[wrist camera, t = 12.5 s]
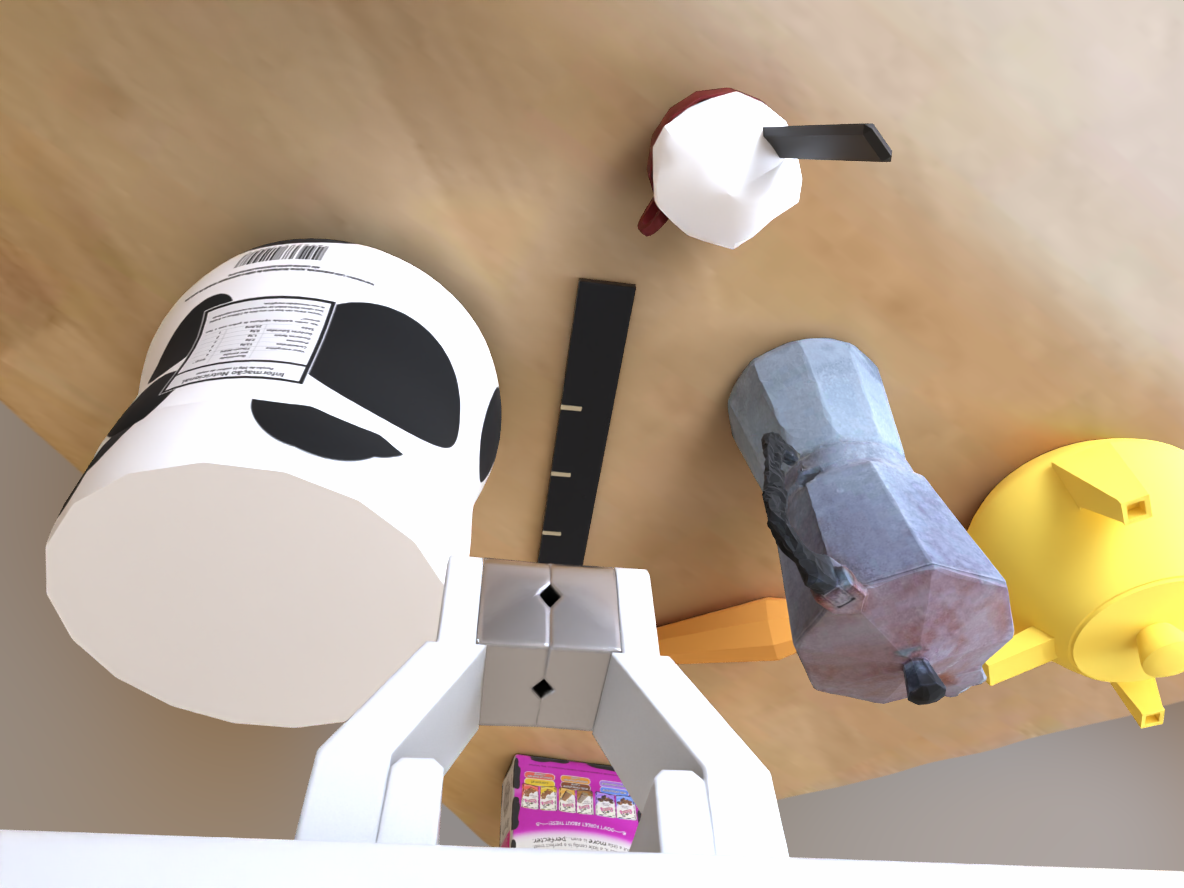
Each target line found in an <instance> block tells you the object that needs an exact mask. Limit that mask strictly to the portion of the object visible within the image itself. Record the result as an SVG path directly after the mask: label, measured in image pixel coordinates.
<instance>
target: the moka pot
mask: <svg viewBox="0 0 1184 888" xmlns="http://www.w3.org/2000/svg"><path fill="white" fill-rule="evenodd" d="M728 413H729V420H730V425H731V430H732V436H733V438H734V440H735V442H736V444H737V446H738V448H739V450H740V451H741V453H742V455H743V457H744V458H745V460H746V462H747V464H748V466H749V468H750V470H751V472H752V474H753V475H754V477H755V479H756V481H757V482H758V484H759V486H760V487H761V490H762V492H763V494H762V496H763V500H764V505H765V509H766V513H767V517H768V522H767V525H768V527H769V528H770V529H771V532H772V535H773V537H774V538H775V540H776V544H777V546H778V553H779V558H780V564H781V570H782V577H783V583H784V589H785V596H786V602H787V608H788V615H789V622H790V628H791V634H792V640H793V645H794V647H795V649H796V651H797V654H798V656H799V658H800V660H801V662H802V664H803V666H804V668H805V670H806V673H807V675H808V677H809V680H810V682H811V683H812V685H813V687H814V688H815V689H816V690H818V691H822V692H827V693H831V694H837V695H843V696H848V697H852V698H857V699H861V700H866V701H870V702H874V703H882V704H885V703H888V702H892V701H896V700H900V699H904V698H908V701H911V702H913V703H915V704H917V705H923V704H930V703H933V702H937V701H938V700H940V699H941V698H942V697H944V696H947V697H955V696H958V694H959V693H962V692H964V691H966V690H967V689H968V688H969V687H971V686H974V685H979V684H982V682H984V681H986V679H987V676H986V674H985V673H984V671H983V668H982V665H983V664H984V663H985V662H986V661H987V660H988V659H989V658H991V657H992V656H993V655H994V654H995V653H996V652H997V651H999V650H1000V649H1001V648H1002V647H1003V646H1004V645H1005V644H1007V643H1008V642H1009V641H1010V640H1011V639H1012V638H1013V634H1014V626H1013V619H1012V613H1011V606H1010V599H1009V592H1008V588H1007V584H1006V580H1005V579H1004V578H1003V577H1002V575H1001V574H1000V573H999V572H998V570H997V569H996V568H995V567H994V565H993V564H992V563H991V562H990V560H989V559H988V558H987V556H986V555H985V554H984V553H983V551H982V550H981V549H980V548H979V546H978V545H977V544H976V543H975V541H974V540H973V539H972V538H971V536H970V535H969V534H968V533H967V531H966V530H965V529H964V527H963V526H962V525H961V524H960V522H959V521H958V520H957V518H956V517H955V516H954V514H953V513H952V512H951V511H950V509H949V508H948V507H947V506H946V504H945V503H944V502H943V500H942V499H941V498H940V497H939V495H938V494H937V493H936V492H935V490H934V489H933V488H932V486H931V485H930V484H929V482H928V481H927V480H926V478H925V477H924V476H922V475H920V474H917V473H914V472H913V470H912V468H911V466H910V465H909V463H908V462H907V461H906V459H905V455H904V451H903V448H902V444H901V441H900V437H899V434H898V431H897V428H896V425H895V422H894V419H893V415H892V412H891V409H890V406H889V402H888V399H887V395H886V392H885V389H884V386H883V382H882V379H881V377H880V374H879V371H878V368H877V367H876V365H875V364H874V363H873V362H872V361H871V360H870V359H869V358H868V357H867V356H866V355H865V354H863V353H862V352H861V351H860V350H859V349H858V348H857V347H856V346H854V345H852V344H850V343H847V342H843V341H839V340H835V339H830V338H811V339H802V340H799V341H792V342H789V343H786V344H783V345H781V346H780V347H777V348H775V349H773V350H770V351H768V352H766V353H765V354H763V355H761V356H759V357H757V358H754V359H753V360H752V361H751V362H750V363H749V365H748V366H747V367H746V368H745V369H744V371H743V372H742V374H741V376H740V377H739V378H738V380H737V382H736V383H735V385H734V387H733V389H732V392H731V394H730V397H729V399H728Z"/></svg>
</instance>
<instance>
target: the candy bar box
mask: <svg viewBox="0 0 1184 888" xmlns="http://www.w3.org/2000/svg"><path fill="white" fill-rule="evenodd" d="M640 818H641V812H640V811H639V809H638V808H637V806H636V804H635V803H634V801H633V799H632V798H631V796H630V795H629V793H628V791H627V790H626V788H625V786H624V785H623V783H622V782H621V780H620V778H619V777H618V775H617V773H616V772H615V770H614V768H613V767H612V766H606V765H598V764H591V763H583V762H575V761H567V760H560V759H551V758H544V757H535V756H527V755H520V754H516V755H515V756H514V758H513V761H512V763H511V766H510V768H509V770H508V772H507V774H506V775H505V778H504V781H503V784H502V799H501V825H500V847H505V848H534V849H562V850H590V851H619V852H629V850H630V847H631V844H632V841H633V839H634V836H635V833H636V830H637V827H638V824H639V821H640Z"/></svg>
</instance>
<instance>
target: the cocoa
mask: <svg viewBox="0 0 1184 888" xmlns="http://www.w3.org/2000/svg"><path fill="white" fill-rule="evenodd" d="M891 157H892V150H891V149H890V147H889V146H888V144H887V143H886V142H885V140H884V139H883V137H882V136H881V134H880V133H879V131H878V130H877V129H876V127H875V126H874V124H837V125H807V126H788V125H787V123H786V121H785V120H783V119H782V118H781V117H780V116H779V115H777V114H776V113H775V112H774V111H772V110H771V109H770V108H769V107H767V105H766V104H765V103H764V102H762V101H761V100H759V99H757V98H755V97H752V96H750V95H747V94H745V93H742V92H740V91H737V90H734V89H732V88H720V89H712V90H704V91H696V92H694V93H693V94H691V95H690V96H688V97H687V98H685V99H684V100H682V101H680V102H679V103H677V104H676V105H674V106H673V107H671V108H670V109H669V110H668V112H667V114H666V115H665V117H664V118H663V120H662V121H661V123H660V124H659V126H658V127H657V129H656V130H655V132H654V133H653V136H652V140H651V146H650V152H649V159H648V165H647V172H648V176H649V180H650V183H651V186H652V190H653V193H654V197H653V198H652V200H651V201H650V203H649V205H648V206H647V208H646V209H645V211H644V213H643V215H642V216H641V218H640V221H639V223H638V229H639V230H640V232H641V233H642V234H644V235H645V236H646V237H647V236H651V235H652V234H654V233H655V232H657V231H658V230H659V229H660V228H661V227H662V226H663V225H664V224H665V223H666V222H667V220H668V219H670V220H671V221H672V222H673V223H674V224H675V225H676V226H677V227H679V228H680V229H681V230H682V231H683V232H684V233H685V234H687V235H688V236H691V237H694V238H696V239H699V240H702V241H705V242H708V243H712V244H715V245H719V246H722V247H726V248H730V249H735V248H736V247H738V246H739V245H741V244H742V243H744V242H745V241H747V240H748V239H750V238H752V237H753V236H755V235H756V234H757V233H758V232H759V231H760V230H761V229H762V228H763V227H765V226H766V225H767V224H768V223H769V222H770V221H771V220H772V219H774V218H775V217H777V216H778V215H780V214H781V213H783V212H784V211H786V210H787V209H789V208H790V207H792V206H793V205H795V204H796V203H798V202H799V195H800V189H801V183H802V176H801V171H800V166H799V161H798V159H815V160H844V161H873V162H891ZM656 213H657V214H656Z"/></svg>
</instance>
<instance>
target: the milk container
mask: <svg viewBox="0 0 1184 888" xmlns="http://www.w3.org/2000/svg"><path fill="white" fill-rule="evenodd" d="M500 431H501V399H500V390H499V384H498V380H497V375H496V371H495V367H494V363H493V360H492V357H491V354H490V351H489V348H488V346H487V344H486V341H485V339H484V337H483V335H482V334H481V332H480V330H479V328H478V326H477V325H476V323H475V322H474V320H473V319H472V317H471V316H470V315H469V313H468V312H467V311H466V310H465V308H464V307H463V306H462V305H461V304H460V303H459V302H458V301H457V300H456V299H455V297H454V296H453V295H452V294H451V293H449V292H448V291H447V290H446V289H445V288H444V287H443V286H442V285H440V284H439V283H438V282H437V281H435V280H434V279H433V278H431V277H430V276H429V275H427V274H426V273H424V272H423V271H421V270H419V269H418V268H416V267H414V266H412V265H410V264H409V263H407V262H405V261H403V260H401V259H399V258H397V257H394V256H392V255H390V254H388V253H385V252H383V251H380V250H378V249H375V248H372V247H368V246H364V245H360V244H355V243H350V242H345V241H338V240H330V239H293V240H285V241H279V242H274V243H270V244H266V245H262V246H259V247H256V248H253V249H251V250H248V251H246V252H243V253H241V254H239V255H237V256H235V257H234V258H232V259H230V260H228V261H226V262H225V263H223V264H221V265H220V266H218V267H217V268H215V269H214V270H212V271H211V272H209V273H208V274H206V275H205V276H204V277H202V278H201V279H200V280H199V281H198V282H196V283H195V284H194V285H193V286H192V287H191V288H190V289H189V290H187V291H186V292H185V293H184V294H183V296H182V297H181V298H180V299H179V300H178V301H177V302H176V303H175V305H174V306H173V307H172V308H171V310H170V311H169V312H168V314H167V315H166V317H165V318H164V319H163V321H162V323H161V325H160V326H159V328H158V330H157V332H156V334H155V336H154V338H153V340H152V342H151V344H150V347H149V350H148V352H147V356H146V359H145V363H144V367H143V371H142V375H141V381H140V387H139V392H138V396H137V397H136V399H135V400H134V401H133V403H132V404H131V405H130V406H129V408H128V409H127V410H126V411H125V413H124V414H123V415H122V416H121V418H120V419H119V420H118V421H117V423H116V424H115V425H114V427H113V428H112V429H111V431H110V432H109V433H108V435H107V436H106V438H105V439H104V440H103V442H102V443H101V445H100V446H99V448H98V450H97V452H96V454H95V456H94V459H93V460H92V462H91V463H90V465H89V466H88V468H87V469H86V471H85V473H84V474H83V476H82V477H81V479H80V480H79V482H78V483H77V485H76V487H75V488H74V490H73V491H72V493H71V494H70V496H69V498H68V499H67V501H66V502H65V504H64V506H63V508H62V510H61V512H60V514H59V516H58V518H57V520H56V522H55V524H54V526H53V528H52V530H51V532H50V535H49V538H48V541H47V544H46V589H47V590H46V593H47V596H48V597H49V599H50V601H51V603H52V604H53V606H54V608H55V610H56V611H57V613H58V615H59V617H60V619H61V620H62V622H63V624H64V626H65V627H66V629H67V631H68V633H69V634H70V636H71V638H72V640H74V641H75V642H76V643H77V644H78V645H79V646H80V647H82V648H83V649H84V650H85V651H86V652H87V653H89V654H90V655H91V656H92V657H94V659H95V660H97V661H98V662H99V663H100V664H101V665H102V666H103V667H105V668H106V669H107V670H108V671H109V672H110V673H111V674H113V675H114V676H115V677H116V678H118V679H120V680H122V681H124V682H126V683H128V684H130V685H132V686H134V687H136V688H138V689H140V690H141V691H143V692H145V693H147V694H149V695H151V696H153V697H155V698H157V699H159V700H161V701H163V702H165V703H167V704H169V705H171V706H174V707H178V708H181V709H185V710H188V711H192V712H195V713H199V714H203V715H206V716H210V717H214V718H217V719H221V720H225V721H228V722H232V723H240V724H253V725H266V726H278V727H291V728H298V727H306V726H313V725H322V724H330V723H338V722H346V721H347V720H348V719H349V718H350V717H351V716H352V715H353V714H354V713H355V712H356V711H357V710H358V709H359V708H360V707H361V706H362V705H363V704H364V703H365V702H366V701H367V700H368V699H369V698H370V697H371V696H372V695H373V694H374V693H375V692H376V691H377V690H378V689H379V688H380V687H381V686H382V685H383V684H384V683H385V682H386V681H387V680H388V679H389V678H390V677H391V676H392V675H393V674H394V673H395V672H396V671H397V670H398V669H399V668H400V667H401V666H402V665H403V664H404V663H405V662H406V661H407V660H408V659H409V658H410V657H411V656H412V655H413V654H414V653H415V652H416V651H417V650H418V649H419V648H420V647H421V646H422V645H423V644H424V643H425V642H426V641H433V642H436V638H437V631H438V624H439V617H440V610H441V603H442V596H443V589H444V582H445V575H446V568H447V562H448V559H449V556H450V555H458V556H468V557H469V552H470V541H471V527H472V512H473V505H474V503H475V502H476V500H477V498H478V496H479V494H480V493H481V491H482V489H483V487H484V485H485V483H486V481H487V479H488V476H489V474H490V472H491V470H492V467H493V464H494V461H495V458H496V453H497V449H498V445H499V440H500Z"/></svg>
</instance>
